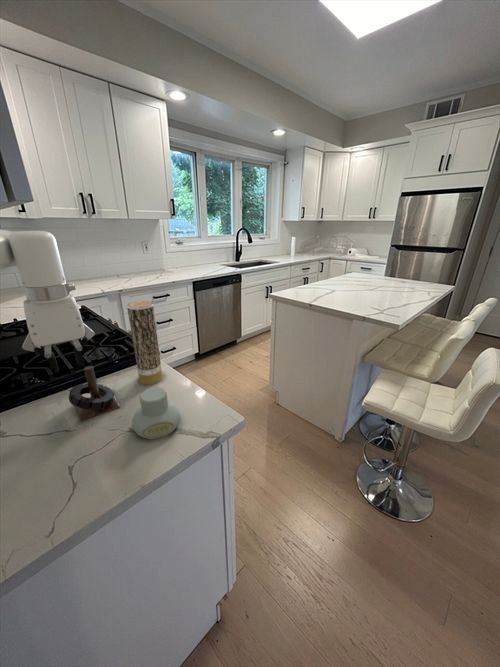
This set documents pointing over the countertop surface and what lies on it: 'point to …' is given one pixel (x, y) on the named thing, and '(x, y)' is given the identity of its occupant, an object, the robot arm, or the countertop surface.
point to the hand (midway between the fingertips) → (68, 366)
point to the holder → (94, 397)
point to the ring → (87, 403)
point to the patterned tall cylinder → (145, 341)
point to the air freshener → (155, 415)
